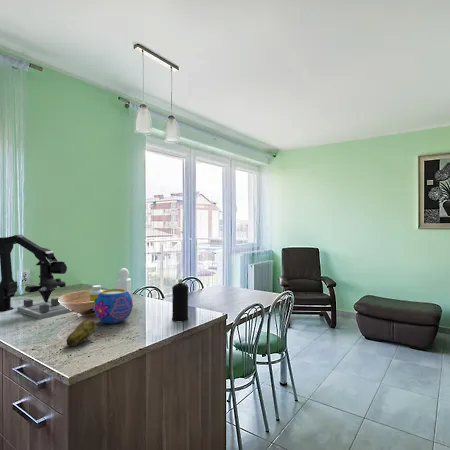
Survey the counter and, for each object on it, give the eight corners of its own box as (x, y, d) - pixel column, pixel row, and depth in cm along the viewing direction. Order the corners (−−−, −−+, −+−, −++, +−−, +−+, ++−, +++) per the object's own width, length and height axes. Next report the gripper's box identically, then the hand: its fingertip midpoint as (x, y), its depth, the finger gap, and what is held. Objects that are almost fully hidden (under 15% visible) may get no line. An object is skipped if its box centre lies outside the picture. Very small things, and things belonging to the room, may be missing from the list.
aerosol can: (191, 317, 157) (191, 278, 157) (182, 322, 150) (182, 281, 150) (177, 315, 161) (177, 277, 161) (168, 320, 153) (168, 279, 153)
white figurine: (131, 305, 181) (131, 267, 181) (126, 308, 174) (126, 269, 174) (120, 304, 182) (120, 267, 181) (115, 307, 175) (115, 268, 175)
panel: (17, 310, 169) (17, 300, 169) (51, 303, 183) (51, 294, 183) (39, 319, 154) (39, 308, 154) (74, 310, 169) (74, 300, 169)
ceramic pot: (122, 314, 163) (122, 285, 163) (139, 322, 150) (139, 291, 150) (88, 321, 151) (88, 290, 151) (103, 331, 138) (103, 297, 138)
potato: (59, 344, 123) (59, 324, 123) (90, 335, 133) (90, 316, 133) (69, 350, 118) (69, 329, 118) (101, 340, 128) (101, 320, 128)
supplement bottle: (98, 311, 169) (98, 287, 169) (87, 310, 170) (87, 286, 170) (105, 307, 175) (105, 285, 175) (94, 307, 177) (94, 284, 177)
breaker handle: (51, 304, 173) (50, 298, 173) (56, 303, 175) (56, 297, 175) (54, 305, 171) (54, 299, 171) (59, 304, 173) (59, 298, 173)
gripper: (34, 277, 156) (34, 308, 157) (70, 272, 172) (70, 300, 172) (24, 275, 163) (24, 305, 163) (60, 270, 178) (60, 298, 178)
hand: (46, 302), depth 169 cm, fingers closed
